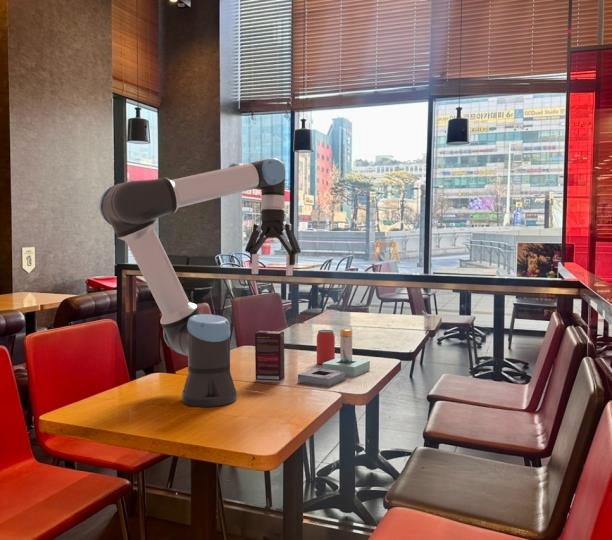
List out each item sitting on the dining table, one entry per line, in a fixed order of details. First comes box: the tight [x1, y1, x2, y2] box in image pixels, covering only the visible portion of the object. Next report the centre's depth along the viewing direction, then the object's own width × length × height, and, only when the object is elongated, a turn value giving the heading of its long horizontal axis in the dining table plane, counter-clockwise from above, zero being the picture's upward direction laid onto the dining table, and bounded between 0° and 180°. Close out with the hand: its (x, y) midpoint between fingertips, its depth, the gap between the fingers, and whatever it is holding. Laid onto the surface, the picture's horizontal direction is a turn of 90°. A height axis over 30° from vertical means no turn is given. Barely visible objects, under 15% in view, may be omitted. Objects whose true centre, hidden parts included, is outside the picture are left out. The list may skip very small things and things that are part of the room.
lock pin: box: [339, 328, 353, 364], centre depth 198 cm, size 4×4×14 cm
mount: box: [297, 367, 346, 388], centre depth 184 cm, size 11×11×3 cm
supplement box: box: [254, 330, 286, 384], centre depth 185 cm, size 9×5×16 cm, turn 76°
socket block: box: [321, 356, 371, 378], centre depth 198 cm, size 12×12×4 cm
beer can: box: [316, 329, 336, 365], centre depth 213 cm, size 7×7×12 cm
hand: (271, 274), depth 189 cm, fingers open, 13 cm apart
